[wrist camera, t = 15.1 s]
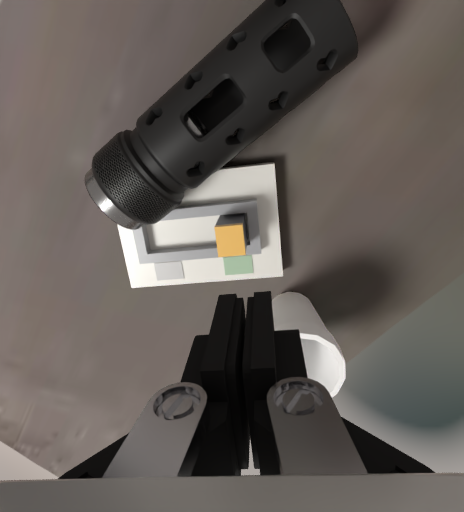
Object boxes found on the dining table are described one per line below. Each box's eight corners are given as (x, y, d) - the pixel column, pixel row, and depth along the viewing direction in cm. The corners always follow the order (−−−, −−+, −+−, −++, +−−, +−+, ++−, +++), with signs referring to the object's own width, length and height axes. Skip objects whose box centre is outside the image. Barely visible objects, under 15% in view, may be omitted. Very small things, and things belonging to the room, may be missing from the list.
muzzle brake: (345, 69, 40) (372, 50, 30) (156, 222, 47) (128, 247, 37) (294, -11, 38) (305, -60, 28) (104, 161, 45) (61, 171, 35)
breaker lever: (244, 212, 44) (242, 224, 39) (247, 239, 45) (245, 255, 40) (220, 214, 44) (214, 227, 39) (223, 241, 46) (218, 257, 40)
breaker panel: (273, 162, 44) (274, 165, 41) (282, 270, 48) (283, 281, 45) (114, 179, 46) (102, 184, 43) (136, 281, 51) (127, 293, 47)
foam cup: (339, 304, 50) (364, 363, 37) (299, 352, 52) (311, 421, 40) (280, 268, 48) (286, 317, 36) (243, 320, 51) (237, 380, 39)
